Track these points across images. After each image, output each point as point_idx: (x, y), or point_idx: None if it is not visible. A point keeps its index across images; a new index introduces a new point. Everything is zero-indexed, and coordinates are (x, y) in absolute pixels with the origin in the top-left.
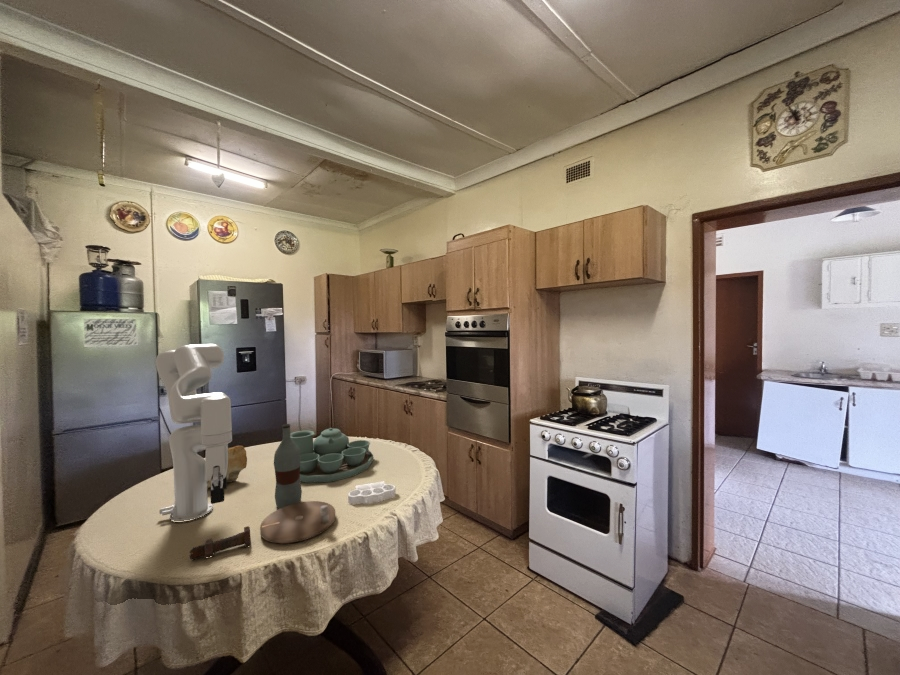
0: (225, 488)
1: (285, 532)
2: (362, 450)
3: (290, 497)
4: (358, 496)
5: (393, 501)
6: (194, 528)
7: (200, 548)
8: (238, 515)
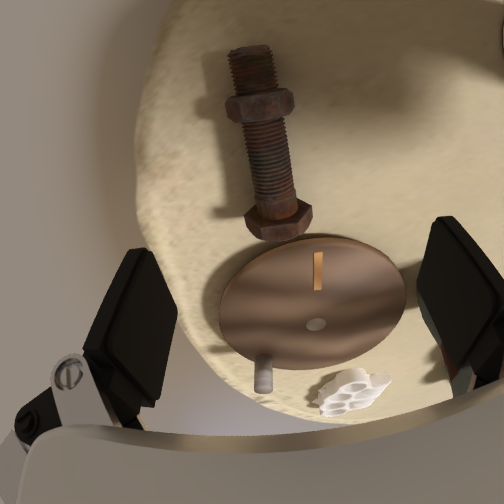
0: (420, 278)
1: (251, 304)
2: None
3: (424, 311)
4: (336, 391)
5: (305, 404)
6: (464, 47)
7: (242, 82)
8: (472, 166)
